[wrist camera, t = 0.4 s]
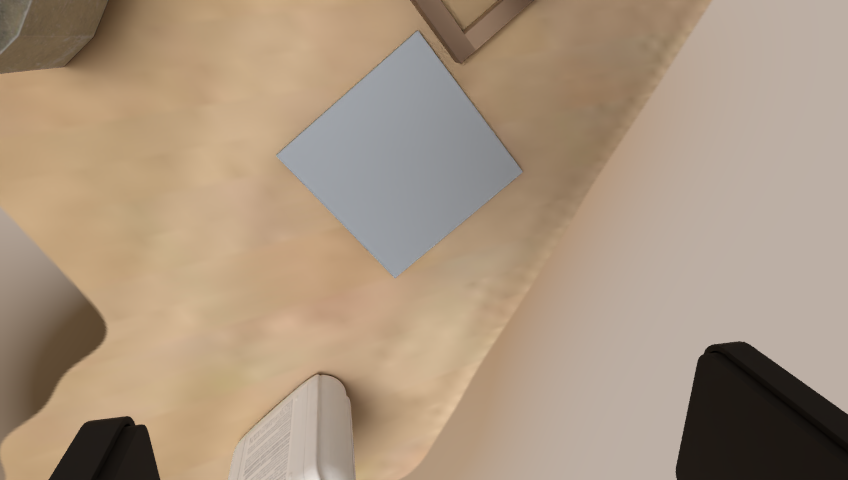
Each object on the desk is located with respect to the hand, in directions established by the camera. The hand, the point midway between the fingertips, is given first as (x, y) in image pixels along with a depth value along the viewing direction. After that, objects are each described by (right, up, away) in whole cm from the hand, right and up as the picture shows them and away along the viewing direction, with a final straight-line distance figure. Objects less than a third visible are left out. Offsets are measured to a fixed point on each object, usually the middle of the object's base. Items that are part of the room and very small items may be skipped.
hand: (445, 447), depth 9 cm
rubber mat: (-2, +9, +27) cm, 29 cm away
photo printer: (-11, -11, +33) cm, 37 cm away
